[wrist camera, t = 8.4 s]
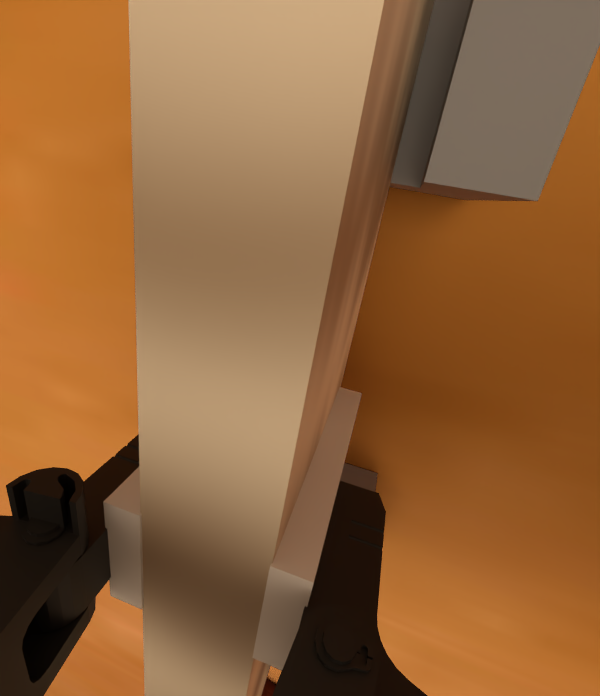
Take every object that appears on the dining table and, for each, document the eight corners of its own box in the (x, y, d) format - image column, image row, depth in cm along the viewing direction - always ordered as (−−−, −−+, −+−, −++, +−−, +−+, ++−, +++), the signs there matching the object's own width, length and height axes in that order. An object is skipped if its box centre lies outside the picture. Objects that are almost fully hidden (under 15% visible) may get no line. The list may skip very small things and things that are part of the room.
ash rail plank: (285, 615, 18) (217, 841, 12) (237, 596, 18) (146, 803, 12) (448, -56, 8) (579, -989, 2) (334, -63, 8) (109, -812, 2)
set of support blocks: (358, 533, 24) (325, 735, 15) (242, 492, 25) (149, 653, 16) (512, 54, 14) (708, -230, 5) (303, 32, 15) (142, -213, 6)
